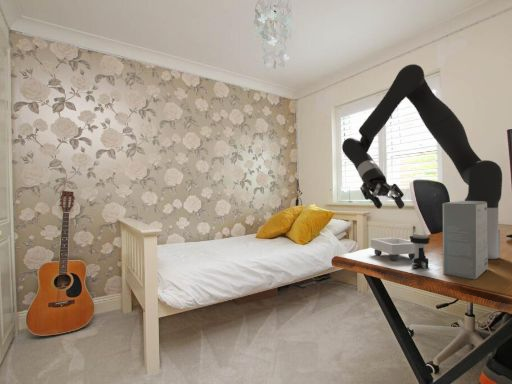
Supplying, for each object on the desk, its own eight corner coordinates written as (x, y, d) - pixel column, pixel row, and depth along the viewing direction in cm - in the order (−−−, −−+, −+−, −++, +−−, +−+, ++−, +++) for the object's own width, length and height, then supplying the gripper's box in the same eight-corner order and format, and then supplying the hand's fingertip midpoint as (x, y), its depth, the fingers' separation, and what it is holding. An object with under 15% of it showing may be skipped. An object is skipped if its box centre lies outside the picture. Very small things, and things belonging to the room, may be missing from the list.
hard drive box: (456, 263, 88) (457, 200, 87) (488, 269, 82) (488, 201, 82) (441, 273, 77) (442, 202, 77) (476, 280, 72) (476, 203, 71)
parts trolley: (397, 252, 103) (397, 237, 103) (420, 260, 92) (421, 243, 92) (370, 254, 100) (370, 238, 100) (391, 262, 90) (392, 244, 89)
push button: (420, 271, 80) (420, 236, 79) (402, 266, 84) (403, 233, 84) (433, 268, 83) (434, 234, 83) (416, 264, 87) (416, 232, 87)
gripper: (358, 166, 101) (378, 199, 90) (392, 167, 105) (415, 199, 94) (350, 181, 107) (367, 214, 96) (382, 182, 110) (403, 214, 99)
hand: (391, 207), depth 95 cm, fingers open, 8 cm apart
